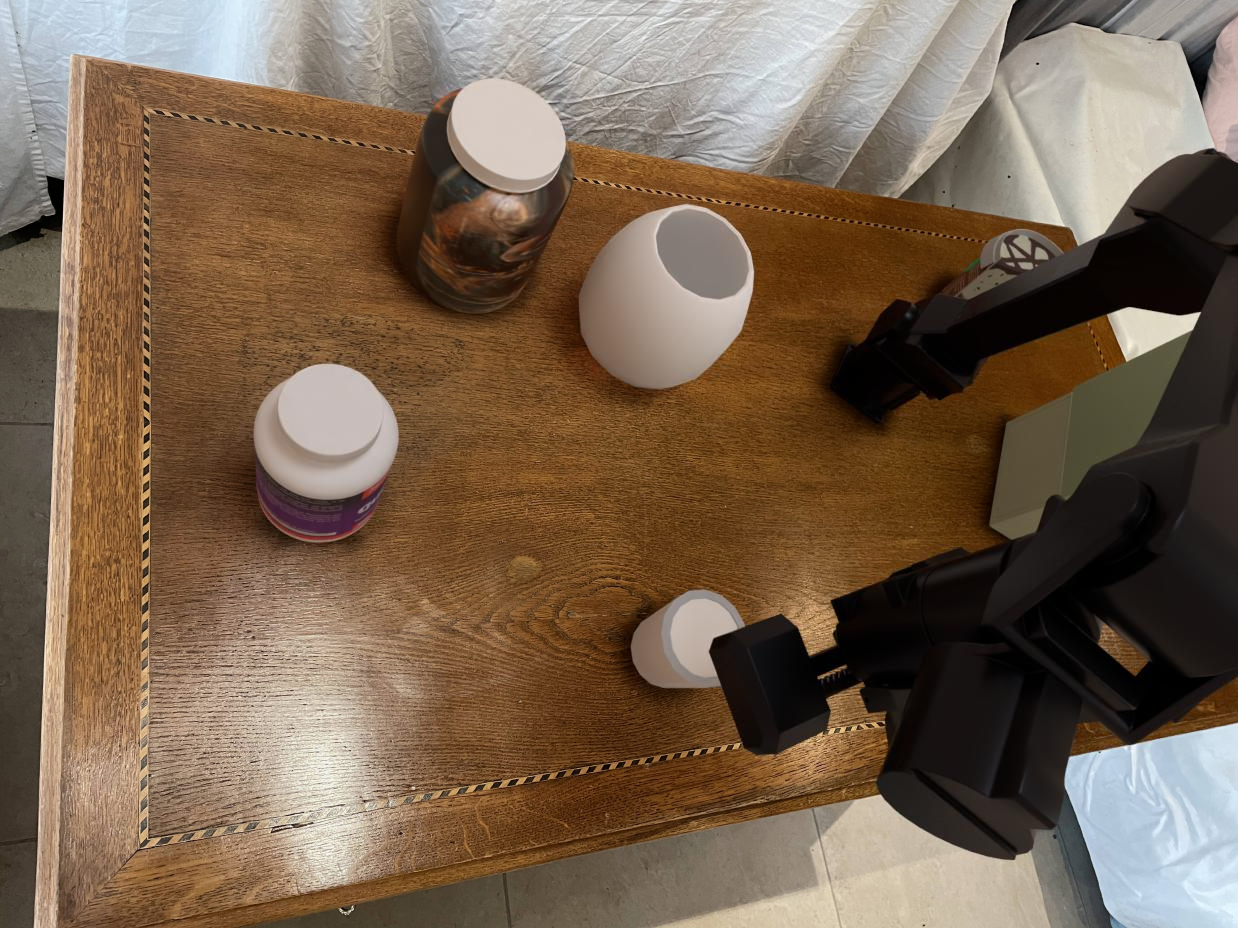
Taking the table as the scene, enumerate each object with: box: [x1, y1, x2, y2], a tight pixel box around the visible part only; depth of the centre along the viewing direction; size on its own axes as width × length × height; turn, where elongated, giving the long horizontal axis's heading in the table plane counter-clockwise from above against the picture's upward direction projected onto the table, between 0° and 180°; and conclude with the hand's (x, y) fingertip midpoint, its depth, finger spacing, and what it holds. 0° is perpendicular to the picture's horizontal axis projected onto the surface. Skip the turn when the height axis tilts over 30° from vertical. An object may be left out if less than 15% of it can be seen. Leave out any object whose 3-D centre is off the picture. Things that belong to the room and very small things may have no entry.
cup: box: [578, 203, 755, 390], centre depth 65 cm, size 13×13×14 cm
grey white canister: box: [630, 589, 746, 689], centre depth 58 cm, size 7×7×7 cm
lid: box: [1061, 329, 1193, 500], centre depth 69 cm, size 13×13×1 cm
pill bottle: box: [253, 363, 400, 543], centre depth 49 cm, size 8×8×14 cm
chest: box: [988, 391, 1073, 540], centre depth 80 cm, size 12×13×8 cm
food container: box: [938, 228, 1064, 299], centre depth 86 cm, size 12×6×10 cm, turn 84°
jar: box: [396, 77, 575, 315], centre depth 60 cm, size 12×12×15 cm
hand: (784, 661), depth 51 cm, fingers open, 9 cm apart
